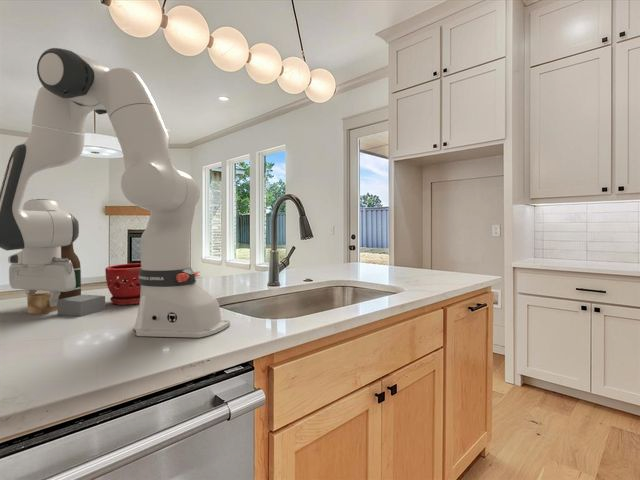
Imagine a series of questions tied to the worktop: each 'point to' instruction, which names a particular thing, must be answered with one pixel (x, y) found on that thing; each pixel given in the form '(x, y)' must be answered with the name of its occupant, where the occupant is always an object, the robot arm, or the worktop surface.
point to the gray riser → (81, 305)
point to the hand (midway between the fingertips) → (43, 305)
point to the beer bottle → (73, 258)
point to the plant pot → (124, 283)
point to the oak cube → (40, 303)
